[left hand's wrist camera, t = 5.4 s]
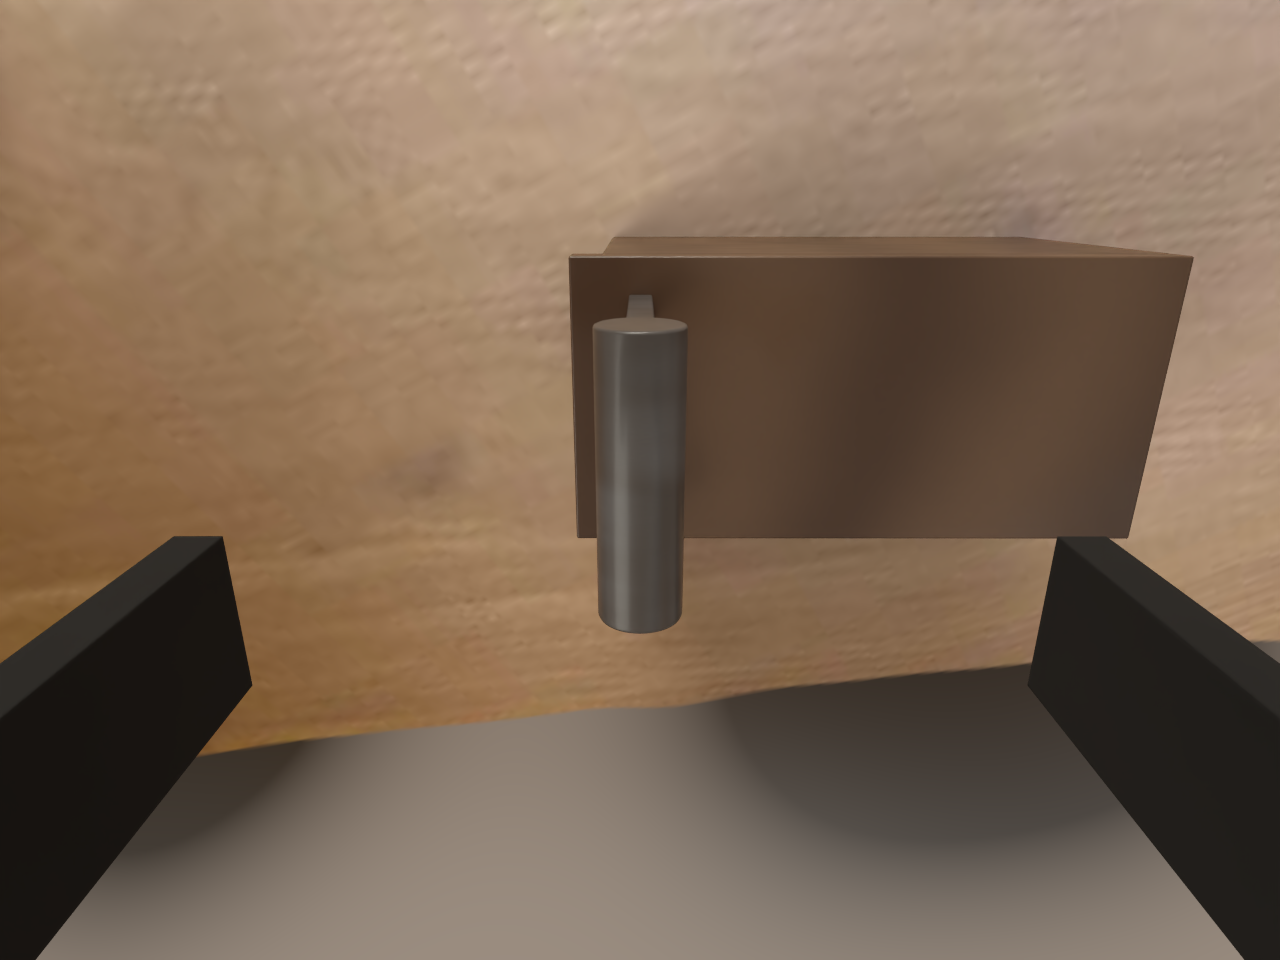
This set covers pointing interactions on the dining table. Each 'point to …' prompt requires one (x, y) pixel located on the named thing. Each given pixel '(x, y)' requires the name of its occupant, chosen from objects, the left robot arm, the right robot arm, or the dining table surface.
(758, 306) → the lid
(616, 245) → the chest
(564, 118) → the dining table surface
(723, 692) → the dining table surface
